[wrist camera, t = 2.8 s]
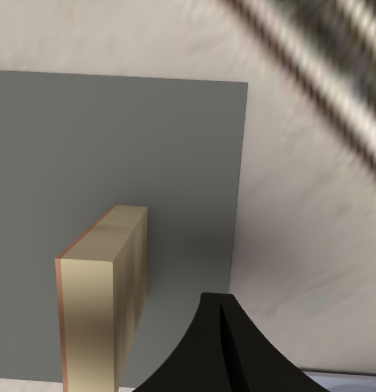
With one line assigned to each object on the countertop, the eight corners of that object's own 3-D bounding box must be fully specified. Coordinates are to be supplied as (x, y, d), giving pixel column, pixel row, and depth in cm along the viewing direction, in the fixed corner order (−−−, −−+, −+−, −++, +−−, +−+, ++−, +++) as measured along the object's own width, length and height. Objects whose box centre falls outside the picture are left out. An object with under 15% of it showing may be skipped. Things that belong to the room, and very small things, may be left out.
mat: (218, 386, 20) (218, 394, 19) (-6, 370, 20) (-12, 377, 20) (246, 84, 15) (247, 82, 15) (-45, 70, 16) (-55, 67, 15)
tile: (146, 298, 18) (114, 402, 11) (114, 296, 18) (63, 398, 11) (147, 206, 17) (112, 262, 10) (113, 204, 17) (54, 258, 10)
